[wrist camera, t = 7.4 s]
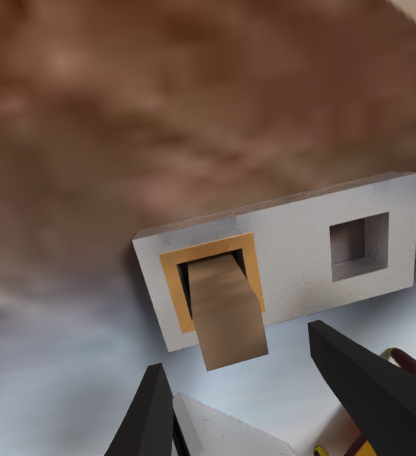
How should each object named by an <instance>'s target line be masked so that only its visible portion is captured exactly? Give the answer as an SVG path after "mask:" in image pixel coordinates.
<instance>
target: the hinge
mask: <svg viewBox="0 0 416 456" xmlns="http://www.w3.org/2000/svg"><path fill="white" fill-rule="evenodd" d="M173 414H174V415H173V437H172V453H171V456H296V454H295V453H294V451H293V450H292V448H291V447H290V445H289V444H288V443H286V442H284V441H282V440H280V439H278V438H276V437H273V436H271V435H269V434H267V433H265V432H263V431H261V430H259V429H256V428H254V427H252V426H250V425H248V424H246V423H244V422H242V421H239V420H237V419H235V418H233V417H231V416H229V415H227V414H225V413H222V412H220V411H218V410H216V409H214V408H212V407H210V406H208V405H205V404H203V403H201V402H199V401H197V400H195V399H193V398H191V397H188V396H186V395H184V394H182V393H178V394H177V395H176V396H175V397H174V398H173Z"/></svg>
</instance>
